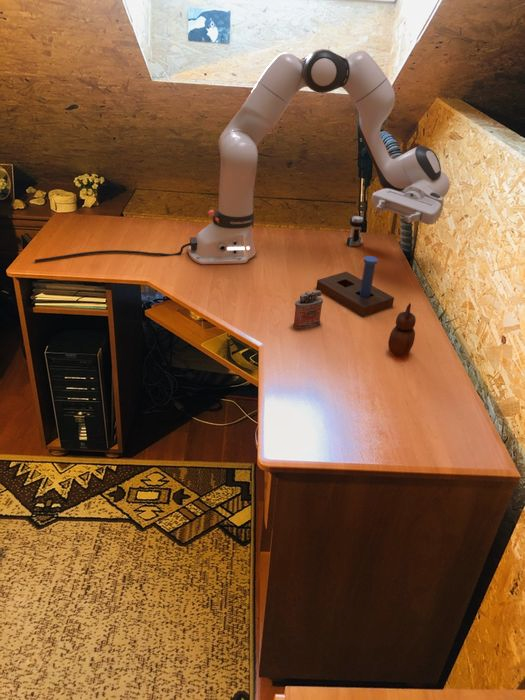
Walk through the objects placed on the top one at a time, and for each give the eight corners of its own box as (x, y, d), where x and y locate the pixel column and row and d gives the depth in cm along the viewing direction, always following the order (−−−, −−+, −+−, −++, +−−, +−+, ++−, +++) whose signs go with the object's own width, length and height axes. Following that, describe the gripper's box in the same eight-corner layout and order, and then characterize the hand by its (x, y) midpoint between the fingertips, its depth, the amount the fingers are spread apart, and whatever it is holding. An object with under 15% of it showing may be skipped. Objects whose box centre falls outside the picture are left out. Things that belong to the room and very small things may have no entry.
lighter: (296, 331, 152) (300, 297, 146) (290, 325, 154) (293, 292, 149) (322, 325, 155) (326, 292, 150) (315, 319, 158) (319, 287, 152)
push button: (357, 240, 208) (361, 213, 203) (367, 245, 204) (371, 218, 199) (343, 243, 205) (346, 216, 199) (352, 248, 201) (356, 221, 196)
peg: (360, 307, 165) (368, 262, 158) (354, 301, 168) (361, 256, 161) (372, 305, 167) (380, 260, 159) (365, 299, 170) (373, 255, 162)
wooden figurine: (404, 362, 142) (417, 309, 134) (383, 355, 144) (393, 302, 136) (414, 350, 147) (426, 298, 139) (392, 343, 149) (403, 292, 141)
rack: (362, 317, 160) (364, 307, 159) (316, 288, 174) (317, 279, 172) (392, 306, 167) (394, 297, 165) (345, 280, 180) (346, 271, 178)
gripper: (387, 179, 174) (362, 193, 166) (449, 199, 164) (426, 215, 156) (383, 199, 178) (359, 213, 170) (444, 219, 168) (421, 236, 160)
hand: (392, 214), depth 163 cm, fingers open, 8 cm apart
